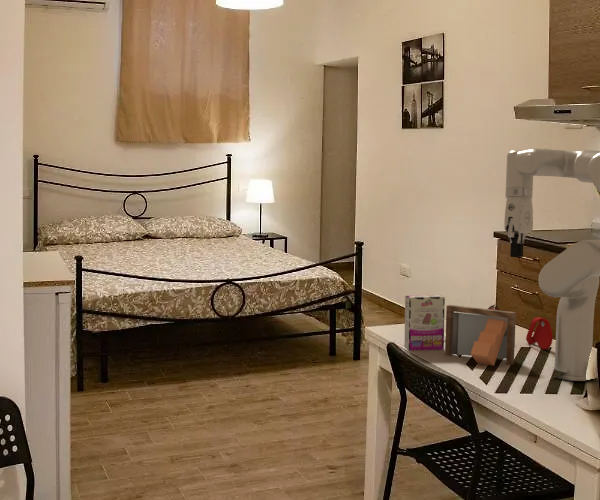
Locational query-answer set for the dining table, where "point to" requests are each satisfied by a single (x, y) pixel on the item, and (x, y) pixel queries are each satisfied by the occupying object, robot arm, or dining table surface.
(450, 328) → the brown door frame
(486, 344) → the orange stepped block
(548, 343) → the tracker holder
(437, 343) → the candy bar box
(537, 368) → the dining table surface
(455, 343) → the door
